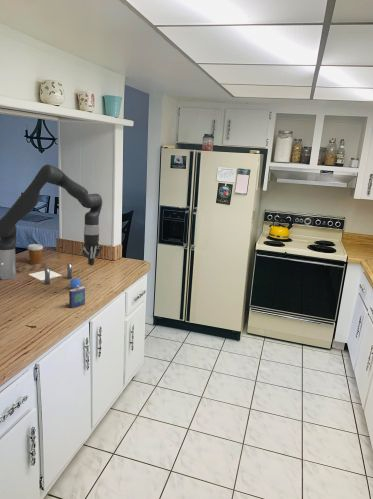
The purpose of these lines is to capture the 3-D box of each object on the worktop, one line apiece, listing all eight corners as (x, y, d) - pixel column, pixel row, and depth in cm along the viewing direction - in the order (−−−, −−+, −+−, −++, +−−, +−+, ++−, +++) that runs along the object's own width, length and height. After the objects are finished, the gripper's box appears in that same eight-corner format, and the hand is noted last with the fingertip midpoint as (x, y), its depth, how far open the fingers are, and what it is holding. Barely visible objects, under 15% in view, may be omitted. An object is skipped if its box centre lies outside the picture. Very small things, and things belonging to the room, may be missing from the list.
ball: (74, 291, 210) (74, 281, 209) (67, 288, 214) (67, 278, 212) (83, 289, 215) (83, 278, 214) (76, 286, 219) (76, 276, 217)
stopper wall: (19, 272, 233) (19, 268, 232) (17, 271, 234) (17, 267, 234) (46, 267, 247) (46, 263, 246) (44, 266, 248) (44, 262, 247)
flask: (83, 302, 197) (83, 282, 195) (86, 304, 196) (87, 284, 193) (67, 307, 190) (67, 286, 187) (71, 309, 188) (71, 288, 186)
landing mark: (41, 280, 223) (41, 280, 223) (28, 274, 231) (28, 274, 231) (62, 275, 233) (62, 275, 233) (49, 270, 242) (49, 269, 242)
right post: (69, 279, 228) (69, 265, 226) (66, 278, 229) (66, 264, 227) (72, 278, 230) (72, 264, 228) (70, 277, 231) (70, 263, 229)
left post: (46, 285, 217) (46, 269, 214) (44, 283, 218) (43, 268, 216) (50, 284, 219) (50, 268, 216) (48, 282, 220) (48, 267, 218)
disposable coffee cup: (27, 261, 255) (26, 244, 252) (42, 261, 259) (42, 243, 256) (28, 266, 246) (27, 247, 243) (44, 265, 250) (43, 247, 247)
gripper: (97, 230, 206) (96, 261, 211) (76, 232, 196) (76, 265, 201) (106, 232, 202) (105, 264, 206) (85, 235, 192) (85, 269, 196)
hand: (91, 264), depth 203 cm, fingers closed
